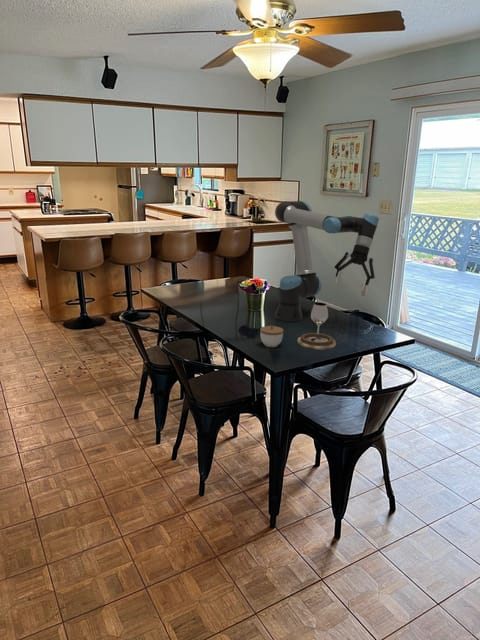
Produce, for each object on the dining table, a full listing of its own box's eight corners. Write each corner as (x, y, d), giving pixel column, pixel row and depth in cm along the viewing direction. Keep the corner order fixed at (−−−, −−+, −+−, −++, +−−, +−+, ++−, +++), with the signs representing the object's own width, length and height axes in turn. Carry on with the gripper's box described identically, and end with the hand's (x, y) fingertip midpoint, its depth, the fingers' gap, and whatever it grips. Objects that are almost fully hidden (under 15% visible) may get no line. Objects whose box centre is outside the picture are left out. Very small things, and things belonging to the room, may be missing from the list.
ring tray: (294, 347, 221) (295, 341, 220) (300, 335, 238) (300, 330, 237) (334, 351, 217) (334, 345, 216) (337, 339, 233) (337, 334, 233)
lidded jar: (284, 348, 218) (285, 329, 216) (261, 349, 217) (262, 329, 215) (280, 341, 228) (281, 322, 226) (258, 341, 227) (259, 322, 225)
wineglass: (322, 344, 222) (325, 307, 216) (305, 341, 226) (308, 304, 220) (328, 340, 228) (331, 303, 223) (312, 336, 232) (315, 301, 227)
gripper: (388, 253, 232) (375, 295, 234) (340, 241, 243) (328, 281, 245) (386, 250, 225) (372, 293, 227) (336, 238, 236) (323, 280, 238)
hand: (349, 287), depth 236 cm, fingers open, 13 cm apart
